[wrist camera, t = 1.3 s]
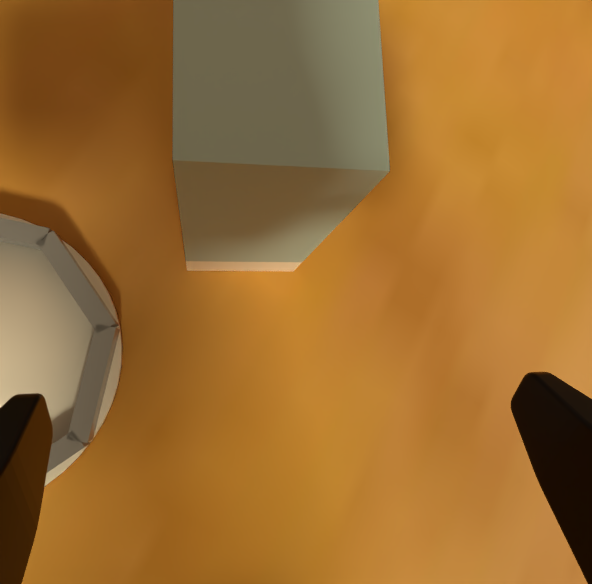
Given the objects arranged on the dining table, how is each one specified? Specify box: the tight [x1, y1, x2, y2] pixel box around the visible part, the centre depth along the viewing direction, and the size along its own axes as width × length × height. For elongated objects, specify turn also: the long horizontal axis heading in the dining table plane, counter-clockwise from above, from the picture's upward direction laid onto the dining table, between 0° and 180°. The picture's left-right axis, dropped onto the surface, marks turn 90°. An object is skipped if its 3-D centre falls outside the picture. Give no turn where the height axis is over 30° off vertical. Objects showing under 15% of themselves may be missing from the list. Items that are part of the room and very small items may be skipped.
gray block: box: [173, 0, 390, 271], centre depth 17 cm, size 5×5×12 cm
